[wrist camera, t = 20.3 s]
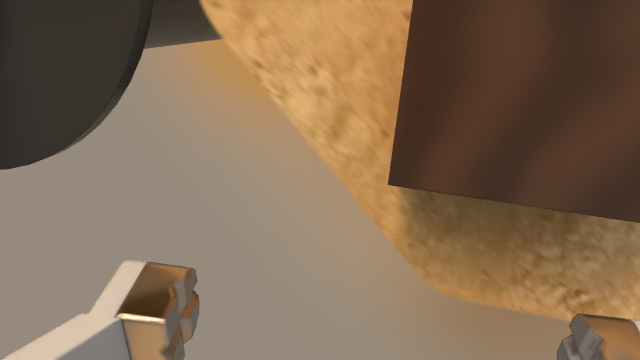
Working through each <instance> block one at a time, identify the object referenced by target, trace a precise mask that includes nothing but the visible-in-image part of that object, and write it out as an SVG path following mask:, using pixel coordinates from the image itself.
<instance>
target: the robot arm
mask: <svg viewBox="0 0 640 360" xmlns="http://www.w3.org/2000/svg"><path fill="white" fill-rule="evenodd" d="M196 283H197V276H196V270H195V269H193V268H189V267H182V266H175V265H168V264H161V263H154V262H144V261H137V260H130V259H127V260H125V261H124V262H122V263H121V265H120V266H119V268H118V269H117V271H116V272H115V274H114V275H113V277H112V278H111V280H110V281H109V283H108V284H107V286H106V287H105V289H104V290H103V292H102V293H101V295H100V297H99V298H98V300H97V301H96V303H95V304H94V306H93V307H92V309H91V310H90V312H89V313H88V314H82V313H81V314H79V315H78V316H76V317H74V318H72V319H71V320H69V321H67V322H65V323H64V324H62V325H60V326H59V327H57V328H55V329H53V330H52V331H50V332H48V333H46V334H45V335H43V336H41V337H40V338H38V339H36V340H34V341H33V342H31V343H29V344H28V345H26V346H24V347H22V348H21V349H19V350H17V351H15V352H14V353H12V354H10V355H9V356H7V357H5V358H3V359H2V360H183V359H184V356H185V351H184V343H186V342H187V341H188V340H190V339H191V338H192V336H193V334H194V331H195V328H196V325H197V320H198V315H199V296H198V295H197V294H196V292H195V291H194V290H193V289H194V287H195V285H196ZM569 327H570V329H571V332H572V334H571V335H570V336H568V337H566V338H565V339H563V340H562V341H561V344H560V346H559V348H558V351H557V360H640V320H636V319H625V318H617V317H608V316H598V315H589V314H580V313H578V314H577V315H575V316H574V317H573V319H572V321H571V323H570V324H569Z"/></svg>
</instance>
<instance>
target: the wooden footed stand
mask: <svg viewBox="0 0 640 360" xmlns="http://www.w3.org/2000/svg"><path fill="white" fill-rule="evenodd" d="M388 185H392V186H399V187H405V188H412V189H419V190H425V191H432V192H438V193H445V194H452V195H458V196H465V197H471V198H478V199H485V200H491V201H498V202H505V203H511V204H518V205H524V206H531V207H538V208H544V209H551V210H557V211H564V212H571V213H577V214H584V215H590V216H597V217H604V218H610V219H617V220H624V221H630V222H637V223H640V0H413V5H412V13H411V20H410V27H409V35H408V42H407V49H406V56H405V64H404V71H403V78H402V86H401V93H400V100H399V107H398V115H397V122H396V129H395V137H394V144H393V151H392V158H391V166H390V173H389V180H388Z"/></svg>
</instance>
